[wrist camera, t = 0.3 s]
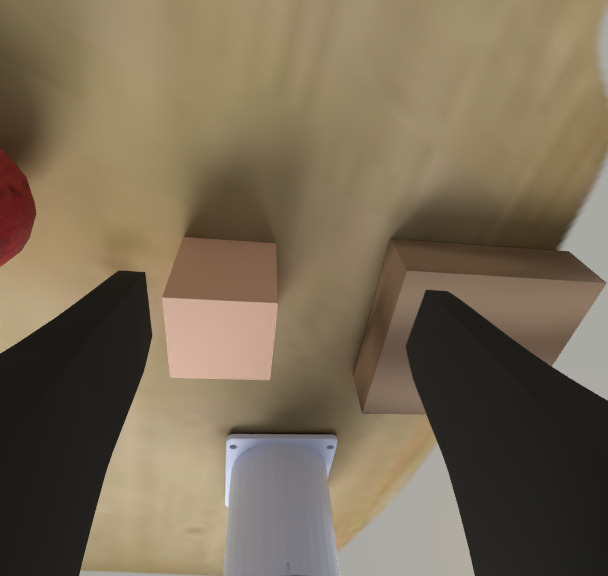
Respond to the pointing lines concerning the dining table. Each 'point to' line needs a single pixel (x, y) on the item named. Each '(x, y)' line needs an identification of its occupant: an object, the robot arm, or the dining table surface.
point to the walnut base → (475, 293)
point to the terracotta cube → (221, 309)
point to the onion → (14, 209)
